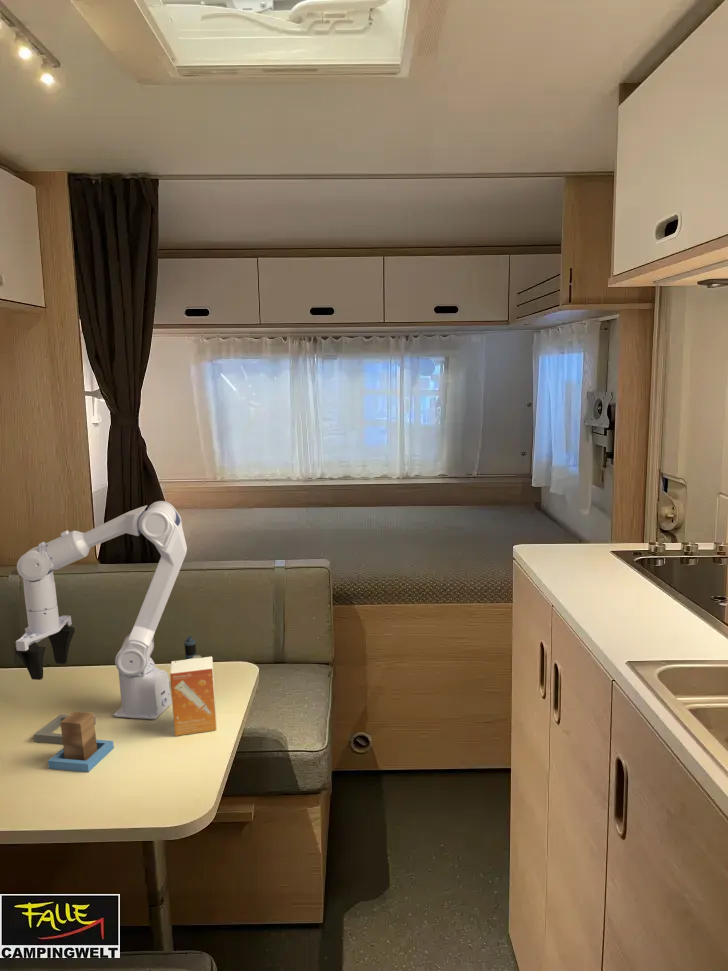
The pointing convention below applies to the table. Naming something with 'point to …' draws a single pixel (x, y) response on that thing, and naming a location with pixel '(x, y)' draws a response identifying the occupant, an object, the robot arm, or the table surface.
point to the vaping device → (190, 649)
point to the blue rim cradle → (80, 765)
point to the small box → (193, 695)
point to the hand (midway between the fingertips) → (49, 670)
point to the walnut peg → (79, 736)
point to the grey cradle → (46, 734)
